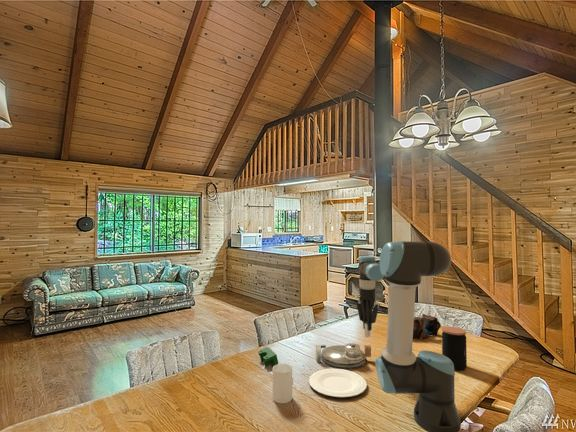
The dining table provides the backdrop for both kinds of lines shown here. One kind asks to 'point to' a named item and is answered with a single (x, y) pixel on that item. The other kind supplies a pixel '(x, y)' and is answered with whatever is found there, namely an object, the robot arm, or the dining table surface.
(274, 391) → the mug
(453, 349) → the coffee jar
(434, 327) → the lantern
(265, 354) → the clamp
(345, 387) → the plate
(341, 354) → the turntable
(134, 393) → the dining table surface
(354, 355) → the cover
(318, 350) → the turntable base
